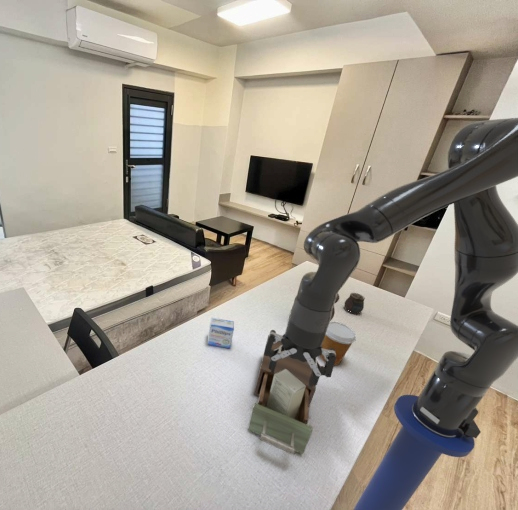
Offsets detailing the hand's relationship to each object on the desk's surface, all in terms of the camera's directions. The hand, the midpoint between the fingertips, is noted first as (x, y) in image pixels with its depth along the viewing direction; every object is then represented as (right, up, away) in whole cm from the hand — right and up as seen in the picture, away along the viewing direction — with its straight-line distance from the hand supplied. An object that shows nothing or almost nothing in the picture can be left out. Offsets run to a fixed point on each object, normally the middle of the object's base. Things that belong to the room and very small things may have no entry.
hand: (291, 377), depth 65 cm
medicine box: (-13, -2, +32) cm, 34 cm away
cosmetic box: (-1, -12, +5) cm, 13 cm away
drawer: (-2, -14, +4) cm, 14 cm away
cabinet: (+4, -10, +17) cm, 20 cm away
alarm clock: (+26, 0, +46) cm, 53 cm away
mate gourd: (+51, +3, +59) cm, 78 cm away
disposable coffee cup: (+25, -7, +29) cm, 39 cm away
